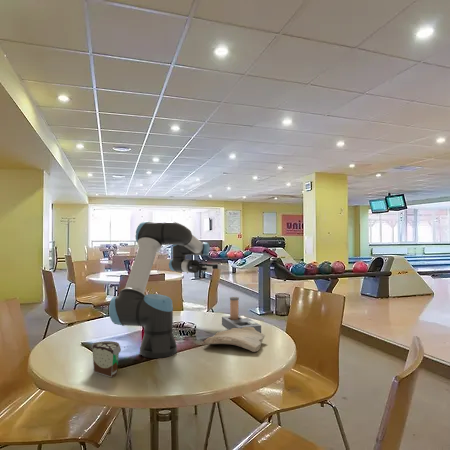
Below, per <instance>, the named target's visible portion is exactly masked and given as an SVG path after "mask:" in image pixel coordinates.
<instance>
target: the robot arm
mask: <svg viewBox="0 0 450 450" xmlns="http://www.w3.org/2000/svg"><path fill="white" fill-rule="evenodd" d="M134 237H135V241H136V244H137V246H138V250H137V252H136V255H135V258H134V259H133V260H134V261H133V262H132V263H133V264H132V266H131V270H130V272H129V276H128V277H127V282H126V283H125V287H124V288H122V289H121V290H119V293H118V295H116V296H113V297H112V298H111V300H110V302H109V305H108V313H109V318H110V321H111V322H112V323H113V324H114V325H119V326H127V327H128V326H130V327H132V326H133V327H143V332H144V333H143V338H142V340H141V342H140V343H141V344H140V346H139V355H140V356H141V355H142V356H141V357H144V358H149V359H161V358H167V357H170V356H173V355H175V354H176V353H177V352H178V345H177V342H176V338H175V336H174V331H173V329H174V328H173V326H174V325H173V323H174V322H173V319H174V314H173V313H174V307H173V300H172V298H171V297H170V296H167V295H165V294H164V295H163V294H157V293H156V294H154V293H149V294H145V291H146V288H147V285H148V281H149V277H150V276H151V271H152V269H153V265H154V261H155V257H156V255H157V253H158V252H159V251H161V249H162V246H172V258H171V259H170V260H169V263H168V268H169V270H170V271H173V272H176V273H177V272H178V273H179V272H180V273H186V274H189V273H191V274H197V273H198V272H199V273H203V272H208V273H212V272H213V270H214V269H215V270H224V271H225V270H226V271H227V270H228V269H229V268H228V264H221V263H220V262H218V263H203V262H202V263H201V262H199V260H198V259H186V256H208V255H209V254H210V248H211V247H210V243H208V242H206V241H205V242H204V241H203V242H202V241H201V240H199V239H198V238H197V237H196V236H194V235H193V232H192V231H191V230H190V229H189V228H188V227H187V226H185V225H183V224H181V223H178V222H175V221H171V220H169V221H168V220H166V221H161V220H160V221H156V220H155V221H152V220H148V221H143V222H141V223H139V224H138V225H137V227H136V230H135V236H134Z"/></svg>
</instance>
